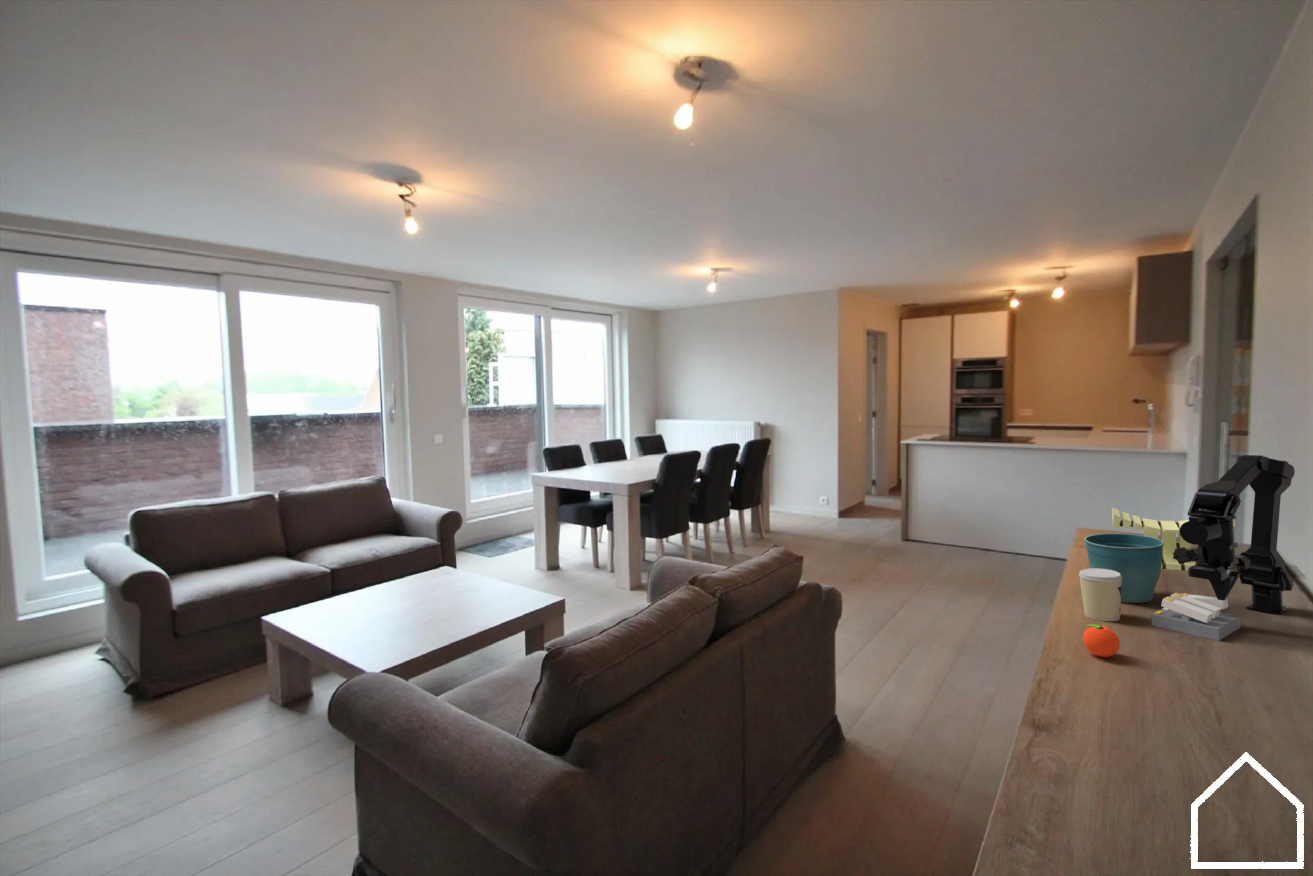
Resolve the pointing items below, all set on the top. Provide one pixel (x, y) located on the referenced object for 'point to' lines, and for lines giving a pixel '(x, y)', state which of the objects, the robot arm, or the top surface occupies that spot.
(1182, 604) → the block
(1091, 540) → the flower pot
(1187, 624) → the console
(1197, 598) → the block
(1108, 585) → the coffee cup
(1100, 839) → the top surface
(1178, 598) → the rocker middle
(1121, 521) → the slatted curved stool
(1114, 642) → the clementine
